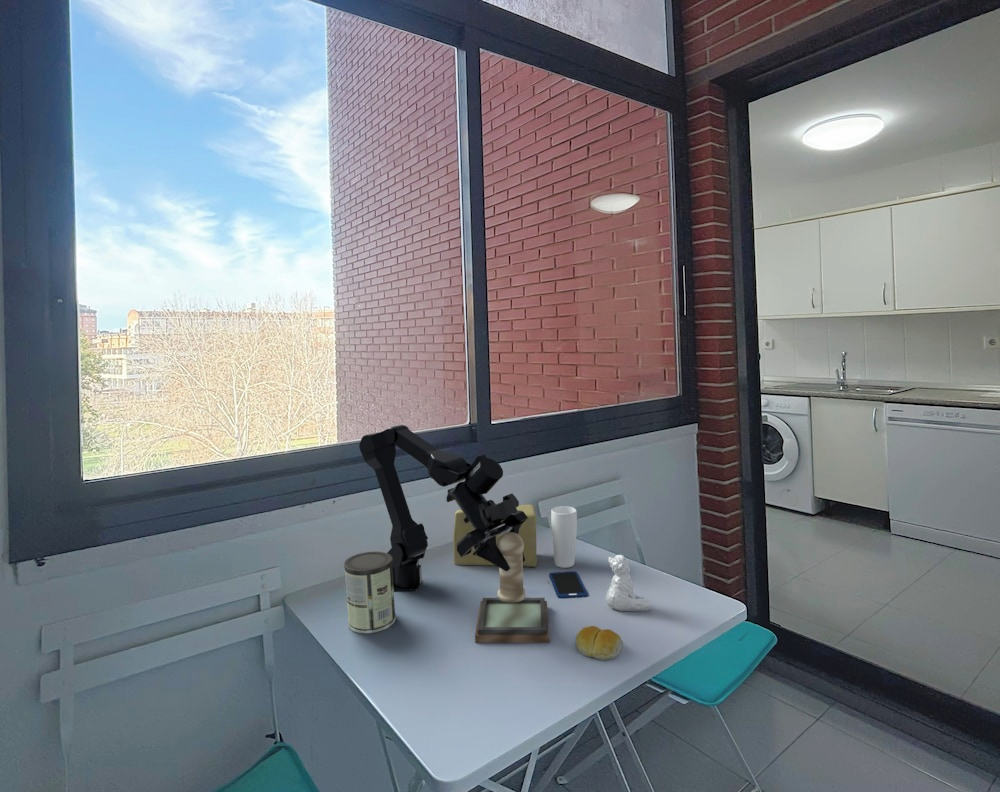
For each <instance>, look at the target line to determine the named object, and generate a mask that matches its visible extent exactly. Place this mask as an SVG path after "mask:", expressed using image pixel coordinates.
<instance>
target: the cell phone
mask: <svg viewBox="0 0 1000 792" xmlns="http://www.w3.org/2000/svg"><path fill="white" fill-rule="evenodd" d="M548 576H549V579H550V582H551V584H552V587H553V589H554V592H555V594H556V597H557V598H558V599H573V598H574V599H575V598H586V597H589V593H588V591H587V589H586V588H585V586H584V583H583V581H582V579H581V577H580V576H579V574H578V571H575V570H572V571H571V570H570V571H568V570H567V571H555V572H549V573H548Z"/></svg>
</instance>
